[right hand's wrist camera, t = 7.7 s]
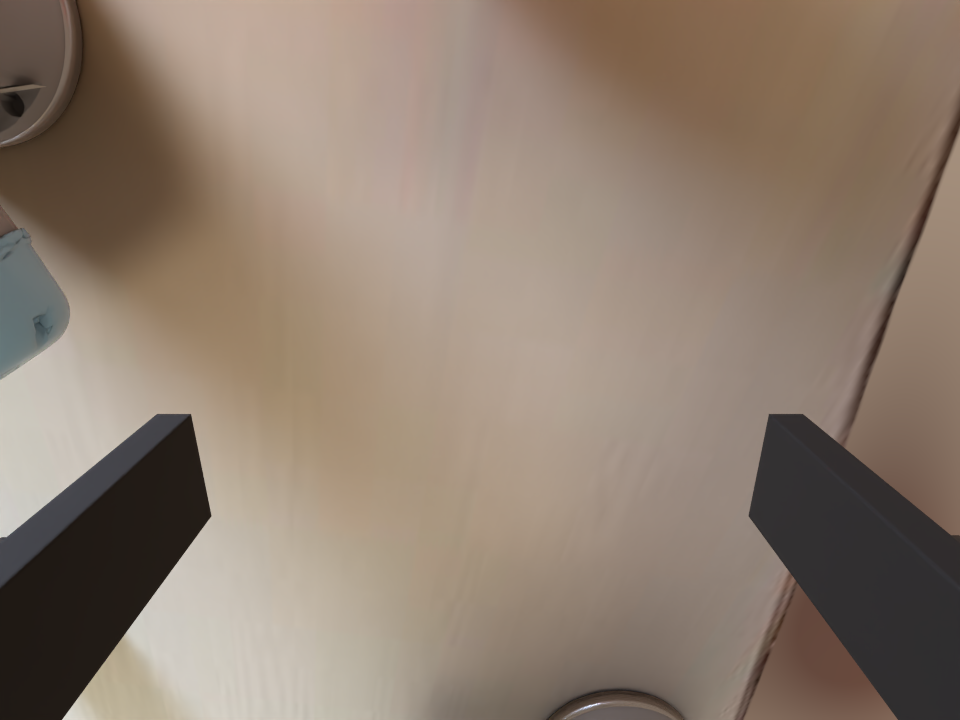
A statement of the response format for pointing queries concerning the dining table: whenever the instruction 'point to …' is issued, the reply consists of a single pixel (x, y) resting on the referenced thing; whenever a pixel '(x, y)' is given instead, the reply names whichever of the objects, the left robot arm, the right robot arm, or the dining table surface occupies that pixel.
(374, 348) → the dining table surface
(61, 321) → the left robot arm
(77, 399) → the dining table surface
